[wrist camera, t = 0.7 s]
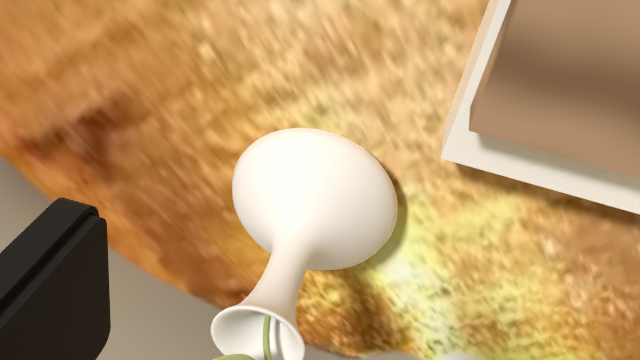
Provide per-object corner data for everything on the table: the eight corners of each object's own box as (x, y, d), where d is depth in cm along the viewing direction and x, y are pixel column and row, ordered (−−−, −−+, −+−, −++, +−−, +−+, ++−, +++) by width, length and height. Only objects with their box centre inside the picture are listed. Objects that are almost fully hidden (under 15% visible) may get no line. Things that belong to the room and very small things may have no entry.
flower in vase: (208, 166, 43) (-38, 524, 23) (326, 82, 37) (133, 466, 17) (326, 285, 47) (204, 676, 27) (449, 226, 41) (410, 672, 21)
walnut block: (538, -72, 26) (542, -58, 24) (751, -20, 25) (773, 0, 23) (470, 107, 31) (468, 130, 29) (643, 154, 30) (654, 182, 28)
